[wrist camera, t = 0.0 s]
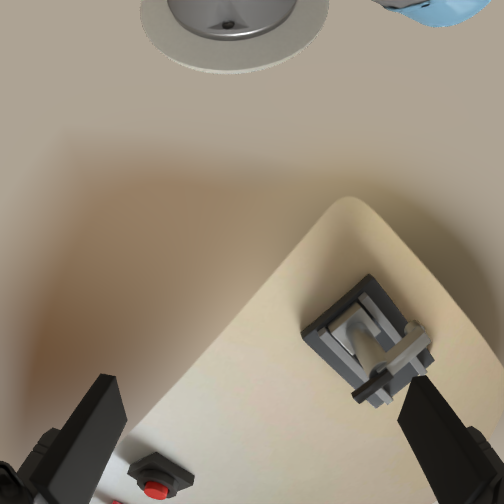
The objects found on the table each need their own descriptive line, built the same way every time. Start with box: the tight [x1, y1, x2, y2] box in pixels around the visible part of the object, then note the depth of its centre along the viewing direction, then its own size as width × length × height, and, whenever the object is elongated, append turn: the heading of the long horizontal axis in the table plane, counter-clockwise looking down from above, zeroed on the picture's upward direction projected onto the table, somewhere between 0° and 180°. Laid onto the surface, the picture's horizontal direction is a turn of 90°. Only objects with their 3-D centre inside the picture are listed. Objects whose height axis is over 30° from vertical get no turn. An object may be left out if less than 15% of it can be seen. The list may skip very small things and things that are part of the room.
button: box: [144, 481, 168, 500], centre depth 36 cm, size 4×4×2 cm
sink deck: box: [301, 274, 435, 408], centre depth 33 cm, size 10×16×3 cm, turn 43°
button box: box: [127, 452, 195, 498], centre depth 38 cm, size 8×8×4 cm
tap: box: [327, 301, 431, 404], centre depth 26 cm, size 8×4×10 cm, turn 133°
